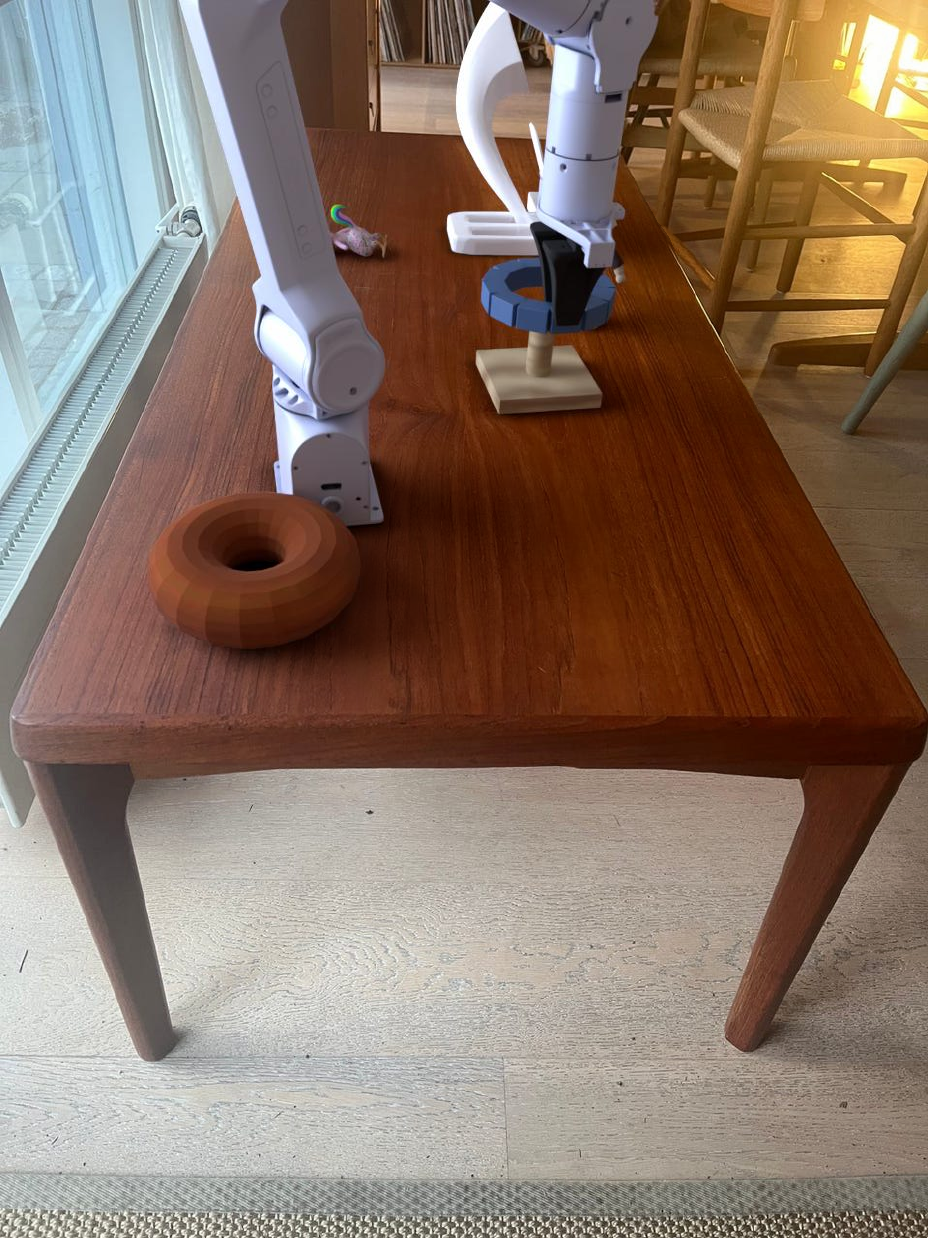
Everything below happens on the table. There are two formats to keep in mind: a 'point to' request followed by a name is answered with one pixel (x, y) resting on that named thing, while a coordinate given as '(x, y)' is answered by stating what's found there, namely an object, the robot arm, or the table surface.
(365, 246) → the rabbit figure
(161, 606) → the donut
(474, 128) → the jewelry stand
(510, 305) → the ring
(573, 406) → the stand
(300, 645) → the table surface
